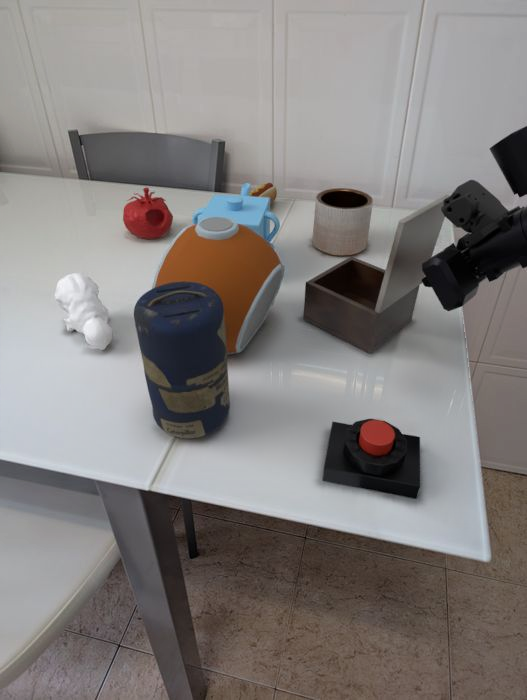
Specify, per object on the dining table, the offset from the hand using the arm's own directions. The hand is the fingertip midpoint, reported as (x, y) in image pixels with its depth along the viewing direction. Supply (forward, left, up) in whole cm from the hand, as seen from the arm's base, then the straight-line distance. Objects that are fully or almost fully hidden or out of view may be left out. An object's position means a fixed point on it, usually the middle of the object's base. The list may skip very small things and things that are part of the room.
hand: (424, 282), depth 67 cm
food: (+45, -31, -11) cm, 56 cm away
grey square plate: (+3, -1, +3) cm, 4 cm away
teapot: (+36, -10, -11) cm, 39 cm away
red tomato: (+58, -10, -11) cm, 60 cm away
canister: (+19, +28, -11) cm, 35 cm away
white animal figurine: (+42, +22, -11) cm, 49 cm away
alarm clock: (+26, +11, -11) cm, 30 cm away
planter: (+22, -25, -11) cm, 35 cm away
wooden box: (+9, -2, -11) cm, 14 cm away
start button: (-3, +24, -7) cm, 25 cm away
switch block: (-3, +24, -11) cm, 26 cm away
